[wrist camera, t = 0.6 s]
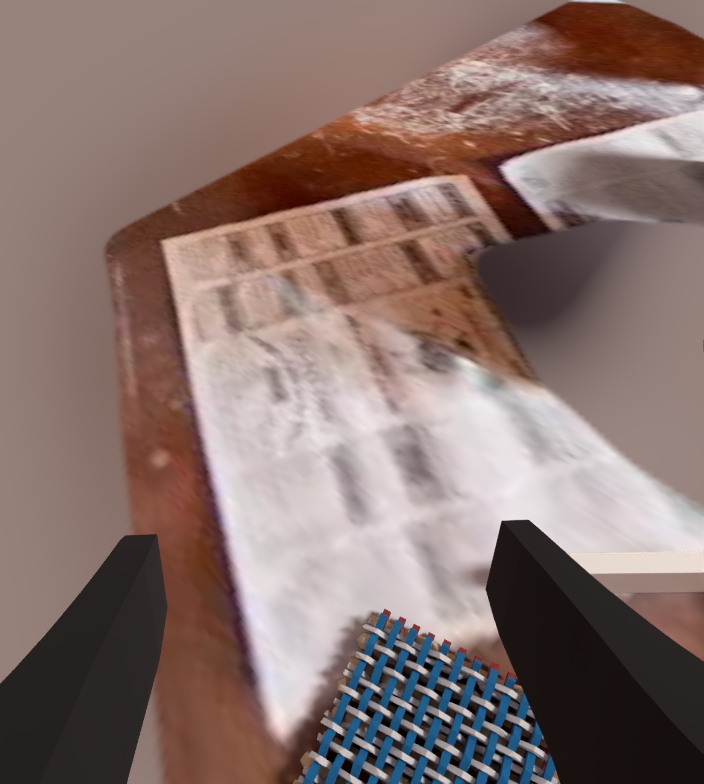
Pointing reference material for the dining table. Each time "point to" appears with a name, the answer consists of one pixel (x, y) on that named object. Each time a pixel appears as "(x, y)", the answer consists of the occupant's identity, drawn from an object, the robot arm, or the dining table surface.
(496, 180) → the dining table surface
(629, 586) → the frame
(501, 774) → the woven mat
